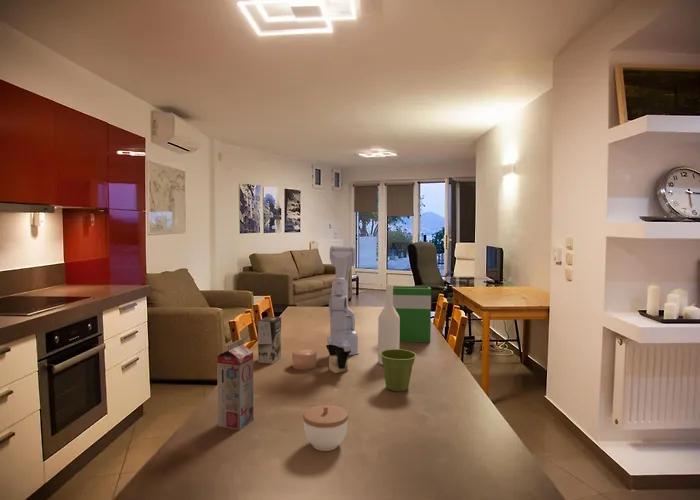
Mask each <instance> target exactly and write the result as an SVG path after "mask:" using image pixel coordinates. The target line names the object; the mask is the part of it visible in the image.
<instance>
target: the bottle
mask: <svg viewBox="0 0 700 500" xmlns="http://www.w3.org/2000/svg"><path fill="white" fill-rule="evenodd" d="M393 286H394V285H393V284H392V283H388V284H385V305H384V307H383V309H382V310H381V311H380V314H379V315H378V319H377V320H378V325H377V328H378V329H377V330H378V331H377V332H378V333H377V335H378V336H377V337H378V338H377V351H378V352H377V362H378V364H379V365H381V366H383V362H382V357H381V356H380V352H381V351H383V350H388V349H400V341H399V339H400V318H399V315H398V313H397V311H396V310H395V308H394V306H393Z"/></svg>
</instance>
